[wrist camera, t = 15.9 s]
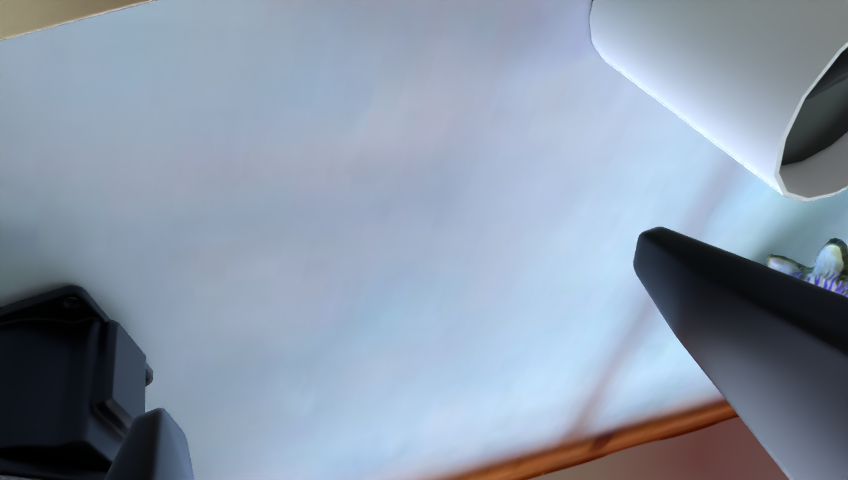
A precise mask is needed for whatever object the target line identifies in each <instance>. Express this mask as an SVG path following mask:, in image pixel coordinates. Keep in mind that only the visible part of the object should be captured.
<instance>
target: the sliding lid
mask: <svg viewBox="0 0 848 480" xmlns="http://www.w3.org/2000/svg"><path fill="white" fill-rule="evenodd" d="M153 1H157V0H0V41H1V40H5V39H9V38H13V37H17V36H21V35H25V34H29V33H32V32H36V31H40V30H44V29H48V28H52V27H56V26H60V25H64V24H67V23H71V22H75V21H79V20H83V19H87V18H91V17H95V16H99V15H102V14H106V13H110V12H114V11H118V10H122V9H126V8H130V7H134V6H137V5H141V4H145V3H149V2H153Z"/></svg>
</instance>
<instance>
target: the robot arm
mask: <svg viewBox="0 0 848 480" xmlns="http://www.w3.org/2000/svg"><path fill="white" fill-rule="evenodd" d="M633 265H634V270H635V272H636V274H637V276H638V278H639V279H640V281H641V282H642V284H643V285H644V287H645V289H646V290H647V292H648V293H649V295H650V296H651V298H652V300H653V301H654V303H655V304H656V306H657V308H658V309H659V311H660V312H661V314H662V315H663V317H664V319H665V320H666V322H667V323H668V325H669V326H670V328H671V329H672V331H673V332H674V334H675V335H676V337H677V338H678V339H679V341H680V342H681V343H682V345H683V346H684V347H685V348H686V350H687V351H688V352H689V354H690V355H691V356H692V357H693V359H694V360H695V361H696V362H697V364H698V365H699V366H700V367H701V369H702V370H703V371H704V372H705V374H706V375H707V376H708V377H709V379H710V380H711V381H712V382H713V384H714V385H715V386H716V388H717V389H718V390H719V391H720V393H721V394H722V395H723V396H724V398H725V399H726V400H727V401H728V403H729V404H730V405H731V406H732V408H733V409H734V410H735V411H736V413H737V414H738V415H739V416H740V418H741V419H742V420H743V421H744V423H745V424H746V425H747V427H748V428H749V429H750V430H751V431H752V433H753V434H754V435H755V437H756V438H757V439H758V440H759V442H760V443H761V444H762V445H763V447H764V448H765V449H766V450H767V452H768V453H769V454H770V455H771V457H772V458H773V459H774V460H775V462H776V463H777V464H778V466H779V467H780V468H781V469H782V471H783V472H784V473H785V474H786V476H787V477H788V478H789V479H790V480H848V297H846V296H844V295H841V294H838V293H836V292H833V291H830V290H828V289H825V288H823V287H820V286H817V285H815V284H812V283H809V282H807V281H804V280H801V279H799V278H796V277H794V276H791V275H788V274H786V273H783V272H780V271H778V270H775V269H772V268H770V267H767V266H765V265H762V264H759V263H757V262H754V261H751V260H749V259H746V258H743V257H741V256H738V255H736V254H733V253H730V252H728V251H725V250H722V249H720V248H717V247H714V246H712V245H709V244H707V243H704V242H701V241H699V240H696V239H693V238H691V237H688V236H685V235H683V234H680V233H678V232H675V231H672V230H670V229H667V228H664V227H655V228H653V229H650V230H647V231H644V232H642V233H641V234H640V235H639V237H638V241H637V246H636V251H635V256H634V261H633ZM68 297H74V298H77V299H75V300H71V299H68ZM152 380H153V371H152V369H151V368H150V367H149V365H148V364H147V363H146V356H145V354H144V353H143V352H142V351H141V349H140V348H139V347H138V346H137V345H136V343H135V342H134V341H133V340H132V339H131V337H130V336H129V335H128V334H127V332H126V331H125V330H124V329H123V328H122V326H121V325H120V324H119V323H118V322H116V321H114V320H110V319H109V318H108V316H107V315H106V314H105V313H104V312H103V310H102V309H101V308H100V307H99V306H98V305H97V303H96V302H95V301H94V300H93V299H92V297H91V296H90V295H89V294H88V293H87V291H86V290H84V289H83V288H82V287H79V286H72V285H70V286H65V287H62V288H59V289H56V290H53V291H50V292H47V293H44V294H41V295H38V296H35V297H32V298H29V299H26V300H23V301H20V302H17V303H14V304H11V305H8V306H5V307H2V308H0V480H194V476H193V471H192V465H191V459H190V454H189V448H188V443H187V439H186V437H185V434H184V432H183V431H182V430H181V428H180V427H179V426H178V425H177V423H176V422H175V421H174V420H173V418H172V417H171V416H170V415H169V413H168V412H167V411H166V410H165V409H163V408H157V409H154V410H151V411H149V412H146V413H145V386H147V385H149V384H150V383H151V382H152Z"/></svg>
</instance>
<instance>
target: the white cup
mask: <svg viewBox="0 0 848 480" xmlns="http://www.w3.org/2000/svg"><path fill="white" fill-rule="evenodd" d="M589 22H590V30H591V38H592V44H593V45H594V47H595V48H596V50H597V51H598V53H599V54H600V56H601V57H602V58H603V60H604V61H606V62H607V63H608V64H610V65H611V66H612V67H614V68H615V69H616V70H618V71H619V72H620V73H622V74H623V75H624V76H626V77H627V78H628V79H630V80H631V81H632V82H633V83H635V84H636V85H637V86H639V87H640V88H641V89H643V90H644V91H645V92H647V93H648V94H649V95H651V96H652V97H653V98H655V99H656V100H657V101H659V102H660V103H661V104H663V105H664V106H665V107H667V108H668V109H669V110H671V111H672V112H673V113H674V114H676V115H677V116H678V117H680V118H681V119H682V120H684V121H685V122H686V123H688V124H689V125H690V126H692V127H693V128H694V129H696V130H697V131H698V132H700V133H701V134H702V135H704V136H705V137H706V138H708V139H709V140H710V141H712V142H713V143H714V144H716V145H717V146H718V147H719V148H721V149H722V150H723V151H725V152H726V153H727V154H729V155H730V156H731V157H733V158H734V159H735V160H737V161H738V162H739V163H741V164H742V165H743V166H745V167H746V168H747V169H749V170H750V171H751V172H753V173H754V174H755V175H757V176H758V177H759V178H760V179H762V180H763V181H764V182H766V183H767V184H768V185H770V186H771V187H772V188H774V189H775V190H776V191H778V192H779V193H780V194H782V195H783V196H785V197H789V198H792V199H795V200H799V201H802V202H809V201H813V200H817V199H821V198H826V197H830V196H834V195H836V194H838V193H840V192H842V191H844V190H845V189H847V188H848V0H593V3H592V8H591V12H590V17H589Z"/></svg>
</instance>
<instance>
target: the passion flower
mask: <svg viewBox="0 0 848 480" xmlns="http://www.w3.org/2000/svg"><path fill="white" fill-rule="evenodd" d="M815 262H816V265H815V267H813V268H809V267H805V266H803V265H801V264H799V263H797V262H796V261H794V260H792V259H789V258H786V257H784V256H780V255H772V254H770V255H768V260H767V267H770V268H772V269H775V270H778V271H780V272H783V273H786V274H788V275H791V276H794V277H796V278H799V279H801V280H804V281H807V282H809V283H812V284H815V285H817V286H820V287H823V288H825V289H828V290H830V291H833V292H836V293H838V294H841V295H844V296H846V297H848V247H847V245H846V243H844V242H843V241H842V240H841V239H837V238H833V239H830V240H829V241H828V242H827V243H826V244H825V245H824V246H823V247H822V249H821V250H820V251H819V253H818V257H817V259H816V261H815Z"/></svg>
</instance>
